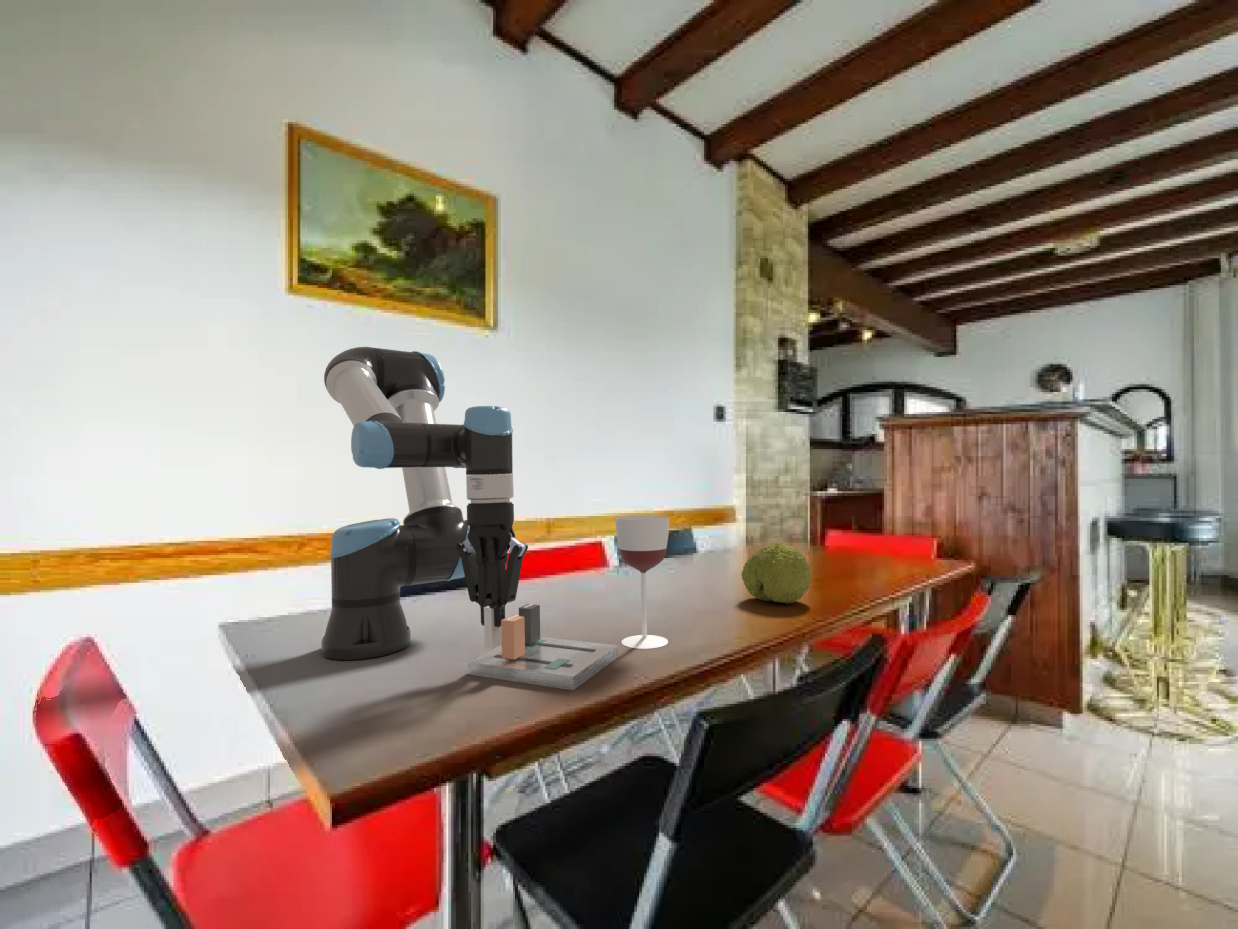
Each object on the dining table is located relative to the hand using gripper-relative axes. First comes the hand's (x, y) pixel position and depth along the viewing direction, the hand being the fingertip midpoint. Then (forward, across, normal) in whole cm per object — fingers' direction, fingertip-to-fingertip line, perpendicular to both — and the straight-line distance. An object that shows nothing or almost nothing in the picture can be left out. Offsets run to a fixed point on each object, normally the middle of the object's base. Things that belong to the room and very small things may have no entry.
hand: (493, 645), depth 94 cm
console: (+4, +7, +4) cm, 9 cm away
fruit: (+4, +35, +64) cm, 73 cm away
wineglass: (+4, +17, +22) cm, 29 cm away
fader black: (+1, +2, +8) cm, 9 cm away
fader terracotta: (+1, +4, 0) cm, 4 cm away
